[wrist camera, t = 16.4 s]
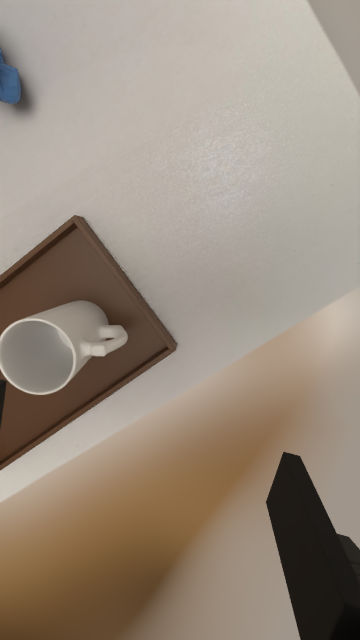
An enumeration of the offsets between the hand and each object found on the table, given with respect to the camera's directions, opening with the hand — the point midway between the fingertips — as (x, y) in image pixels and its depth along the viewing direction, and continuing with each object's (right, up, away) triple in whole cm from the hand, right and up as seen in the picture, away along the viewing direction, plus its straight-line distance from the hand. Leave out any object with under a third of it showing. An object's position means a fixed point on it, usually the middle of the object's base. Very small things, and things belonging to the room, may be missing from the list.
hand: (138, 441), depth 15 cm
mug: (-8, +5, +24) cm, 26 cm away
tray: (-16, +2, +26) cm, 30 cm away
